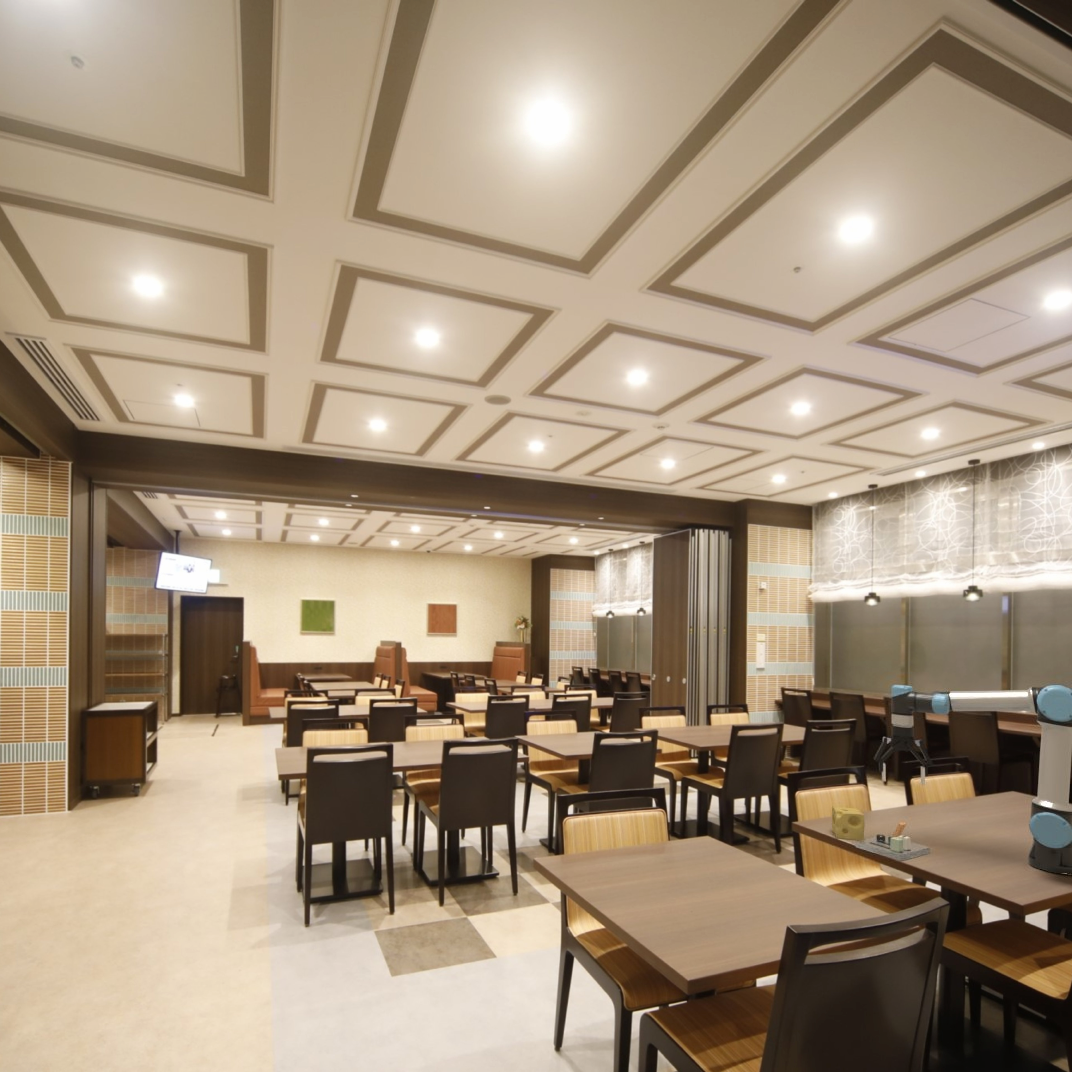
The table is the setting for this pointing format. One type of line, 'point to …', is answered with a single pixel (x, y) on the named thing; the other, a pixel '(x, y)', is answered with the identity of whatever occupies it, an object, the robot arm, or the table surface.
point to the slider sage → (896, 844)
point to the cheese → (847, 823)
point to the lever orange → (899, 829)
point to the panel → (884, 848)
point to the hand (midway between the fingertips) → (903, 782)
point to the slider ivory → (905, 842)
